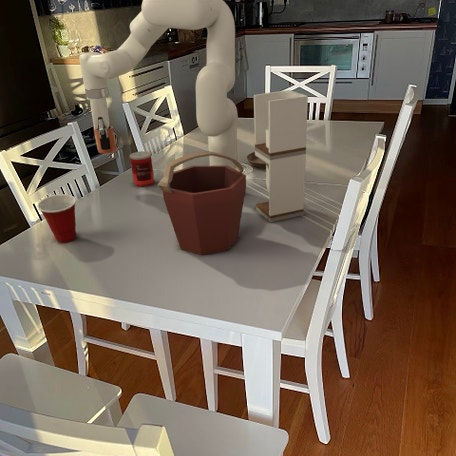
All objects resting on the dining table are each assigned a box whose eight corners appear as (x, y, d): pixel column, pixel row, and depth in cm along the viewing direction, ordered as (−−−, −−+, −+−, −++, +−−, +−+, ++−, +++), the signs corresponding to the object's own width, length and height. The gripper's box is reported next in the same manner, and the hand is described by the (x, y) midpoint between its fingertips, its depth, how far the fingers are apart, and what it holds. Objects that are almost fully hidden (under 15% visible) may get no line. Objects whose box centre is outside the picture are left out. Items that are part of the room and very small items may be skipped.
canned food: (144, 178, 185) (140, 150, 179) (159, 182, 180) (155, 153, 174) (129, 184, 180) (124, 155, 174) (143, 188, 175) (139, 159, 169)
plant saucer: (241, 169, 188) (240, 161, 186) (253, 155, 202) (253, 148, 200) (285, 171, 182) (285, 163, 181) (295, 157, 196) (295, 150, 195)
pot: (116, 152, 169) (112, 129, 165) (97, 154, 168) (93, 131, 164) (117, 147, 175) (113, 124, 170) (98, 148, 174) (94, 126, 169)
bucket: (171, 265, 126) (159, 173, 112) (158, 231, 144) (146, 148, 130) (259, 249, 131) (257, 159, 118) (235, 218, 149) (231, 137, 136)
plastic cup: (46, 249, 138) (35, 211, 131) (48, 234, 146) (37, 197, 140) (85, 243, 140) (75, 205, 133) (84, 228, 149) (75, 192, 142)
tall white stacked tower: (287, 203, 157) (289, 89, 138) (303, 215, 148) (307, 96, 130) (256, 209, 154) (253, 94, 135) (270, 222, 145) (269, 101, 126)
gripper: (88, 89, 168) (97, 140, 177) (83, 99, 153) (94, 154, 163) (109, 87, 169) (118, 138, 178) (107, 97, 154) (116, 152, 164)
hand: (106, 145), depth 170 cm, fingers closed on pot, 6 cm apart
